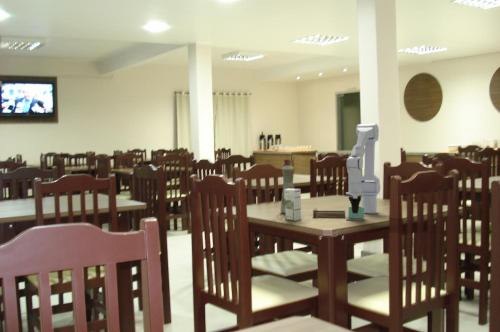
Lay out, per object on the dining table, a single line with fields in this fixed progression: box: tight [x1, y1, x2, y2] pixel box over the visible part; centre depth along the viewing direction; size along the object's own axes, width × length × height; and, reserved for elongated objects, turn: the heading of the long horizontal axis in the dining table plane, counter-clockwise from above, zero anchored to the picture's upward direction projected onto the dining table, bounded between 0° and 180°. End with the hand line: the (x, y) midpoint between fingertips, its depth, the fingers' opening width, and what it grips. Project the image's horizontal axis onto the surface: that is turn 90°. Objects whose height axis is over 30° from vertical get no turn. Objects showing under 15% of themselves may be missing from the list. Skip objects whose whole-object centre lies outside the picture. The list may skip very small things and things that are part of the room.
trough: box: [312, 207, 346, 219], centre depth 259 cm, size 8×15×4 cm, turn 80°
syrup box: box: [284, 188, 302, 222], centre depth 251 cm, size 6×6×14 cm
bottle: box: [280, 157, 295, 215], centre depth 273 cm, size 9×9×28 cm
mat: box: [345, 216, 365, 222], centre depth 249 cm, size 8×8×1 cm
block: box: [347, 205, 365, 220], centre depth 248 cm, size 4×7×5 cm, turn 80°
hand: (355, 212), depth 249 cm, fingers closed on block, 4 cm apart
